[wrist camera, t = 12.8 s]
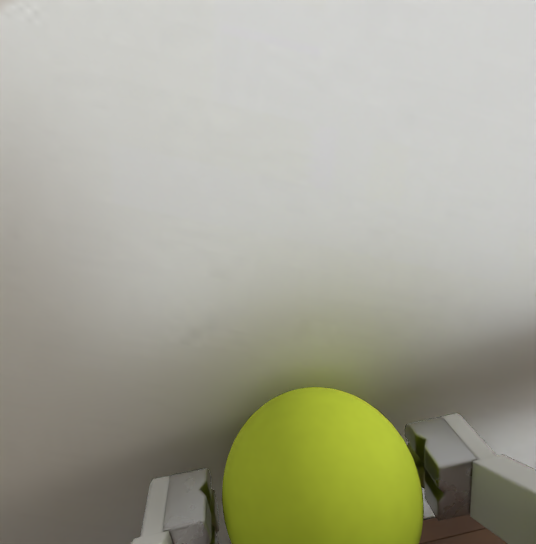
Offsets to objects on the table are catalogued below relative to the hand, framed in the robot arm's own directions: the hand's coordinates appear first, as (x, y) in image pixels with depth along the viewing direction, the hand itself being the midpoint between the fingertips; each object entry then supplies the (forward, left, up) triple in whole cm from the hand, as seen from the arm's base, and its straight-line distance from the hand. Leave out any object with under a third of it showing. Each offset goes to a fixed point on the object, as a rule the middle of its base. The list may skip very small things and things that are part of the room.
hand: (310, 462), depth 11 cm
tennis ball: (0, 0, +1) cm, 1 cm away
